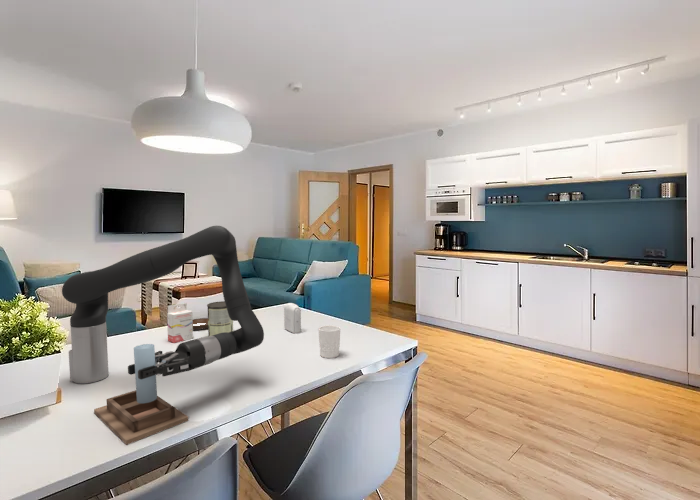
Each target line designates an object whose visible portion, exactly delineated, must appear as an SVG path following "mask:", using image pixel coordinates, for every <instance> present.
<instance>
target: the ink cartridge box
mask: <svg viewBox="0 0 700 500" xmlns="http://www.w3.org/2000/svg"><path fill="white" fill-rule="evenodd" d="M177 307H178V308H177ZM166 316H167V319H166V320H167V341H168V342H170V343H172V344H175V343H179V342H180V341H181V342H183V341H184V340H185V341H190V340H194V336H193V335H194V332H193V331H194V330H193V310H188V309H187V302H184V303H177V304H171V305H170V304H169V305H168V306H167V313H166ZM185 341H184V342H185Z"/></svg>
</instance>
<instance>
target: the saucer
mask: <svg viewBox="0 0 700 500" xmlns="http://www.w3.org/2000/svg"><path fill="white" fill-rule="evenodd" d="M192 319H193V318H192ZM197 323H206V324H205V325H200V326H193V331H202V330H201V329H203V330H208V329H207V328H208V317H203V318H194V319H193V324H197Z"/></svg>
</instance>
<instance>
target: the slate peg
mask: <svg viewBox="0 0 700 500" xmlns="http://www.w3.org/2000/svg"><path fill="white" fill-rule="evenodd" d="M155 353H156V350H155V344H153V343H146V344H145V343H143V344H140V345H136V346H134V347H133V359H134V361H133V362H134V364H135V374H134V375H135V390H136V396H137V402H138V403H149V402H152V401H154V400H156V399H157V396H158V390H157V389H158V388H157V387H158V386H157V375H156V374H155V375H154V376H151V377H148V378H145V379H139V378H138V370H140V369H143V368H147V367H150V366H153V365H154V366H155Z"/></svg>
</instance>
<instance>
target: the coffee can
mask: <svg viewBox="0 0 700 500" xmlns="http://www.w3.org/2000/svg"><path fill="white" fill-rule="evenodd" d="M206 306H207V318H208V329H207V330H208V336H212V335H216V334H219V333H224V332H228V333H229V332H232V331H234V321H233V320H231V319H230V317H229V315H228V311H227V308H226V304H225V301H224V300H223V301H213V302H209V303H207V305H206Z"/></svg>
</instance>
